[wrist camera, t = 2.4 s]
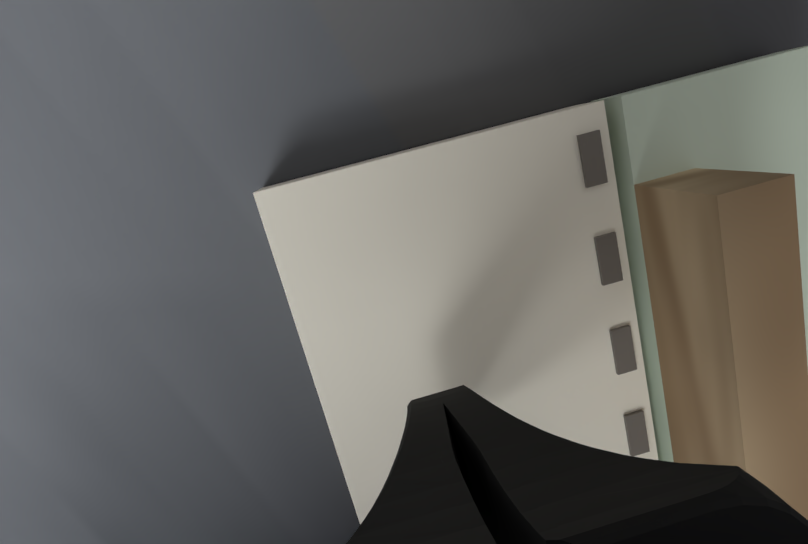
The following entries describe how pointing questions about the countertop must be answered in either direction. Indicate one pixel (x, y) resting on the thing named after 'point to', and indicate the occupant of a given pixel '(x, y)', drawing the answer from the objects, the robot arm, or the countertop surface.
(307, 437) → the countertop surface
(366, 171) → the block
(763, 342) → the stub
